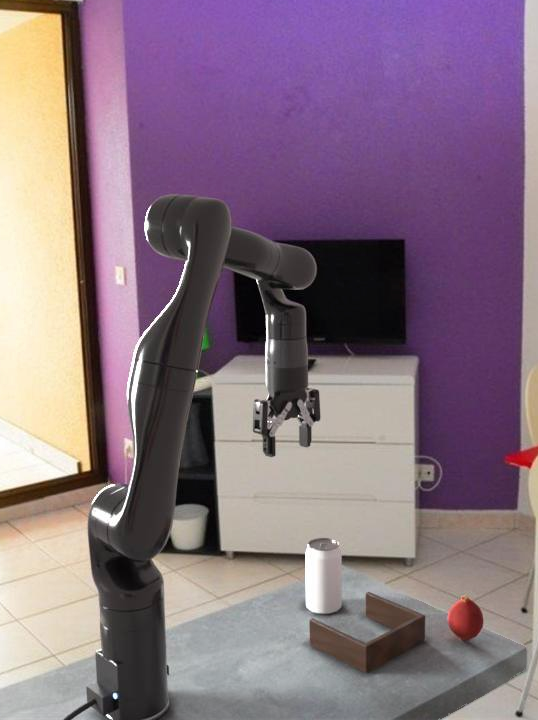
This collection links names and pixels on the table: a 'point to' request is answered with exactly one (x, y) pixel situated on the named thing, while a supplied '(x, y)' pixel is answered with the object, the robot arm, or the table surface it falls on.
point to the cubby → (379, 650)
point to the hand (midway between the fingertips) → (287, 451)
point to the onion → (465, 619)
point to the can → (323, 576)
